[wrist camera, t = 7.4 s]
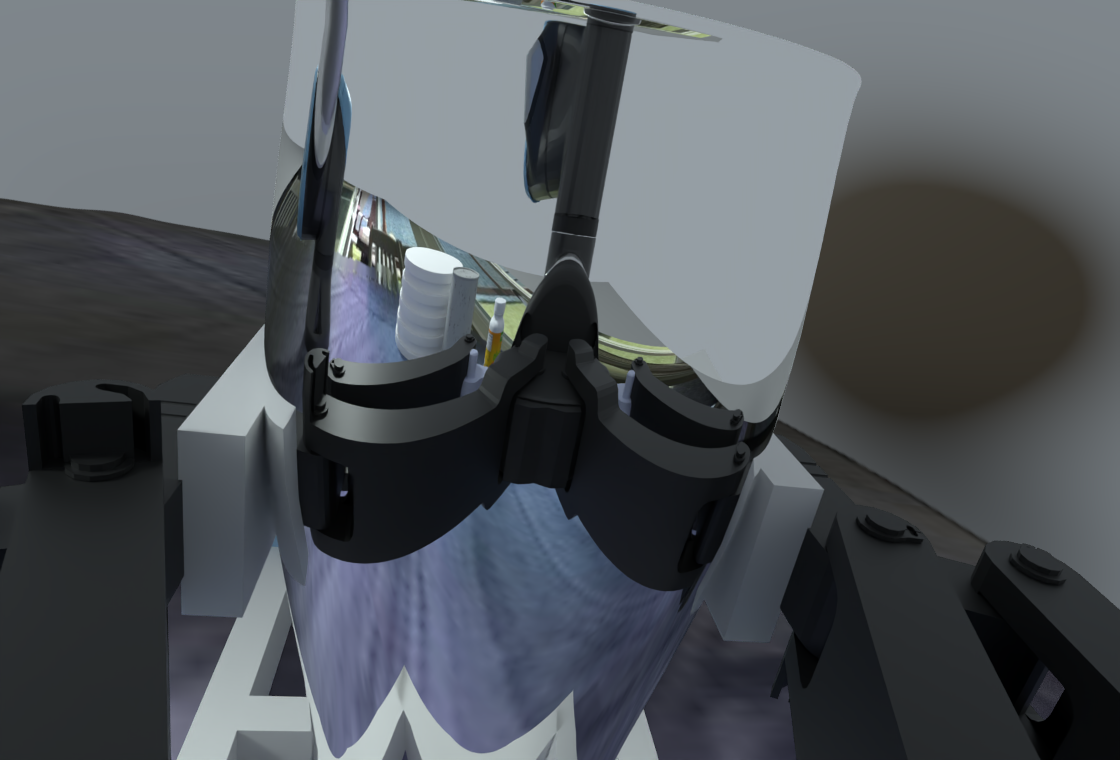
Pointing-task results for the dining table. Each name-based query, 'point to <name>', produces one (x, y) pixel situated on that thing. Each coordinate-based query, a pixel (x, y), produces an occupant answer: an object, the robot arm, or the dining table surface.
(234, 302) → the dining table surface
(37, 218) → the dining table surface
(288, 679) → the dining table surface
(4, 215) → the dining table surface
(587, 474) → the beer glass
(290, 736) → the frame
